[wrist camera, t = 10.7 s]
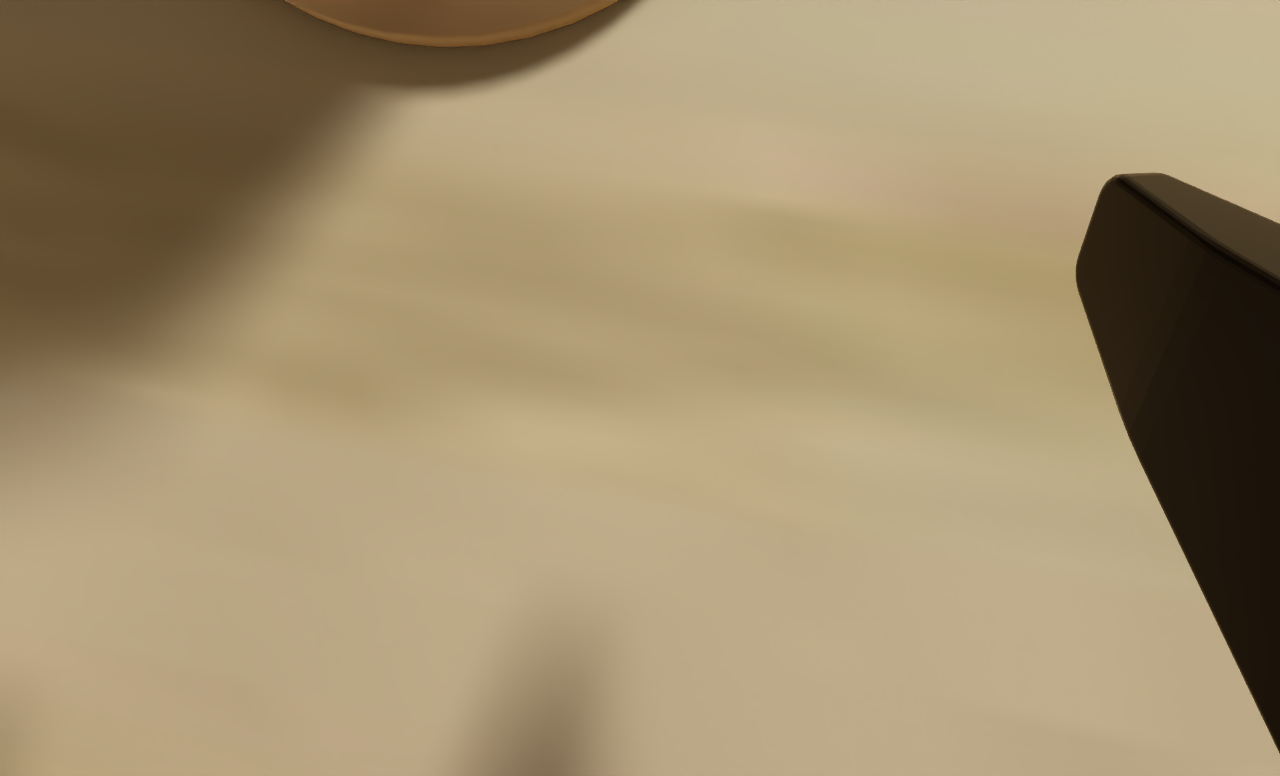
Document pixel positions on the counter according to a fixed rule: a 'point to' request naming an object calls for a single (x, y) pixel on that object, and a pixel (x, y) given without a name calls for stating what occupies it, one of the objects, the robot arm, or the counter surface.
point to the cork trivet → (451, 18)
